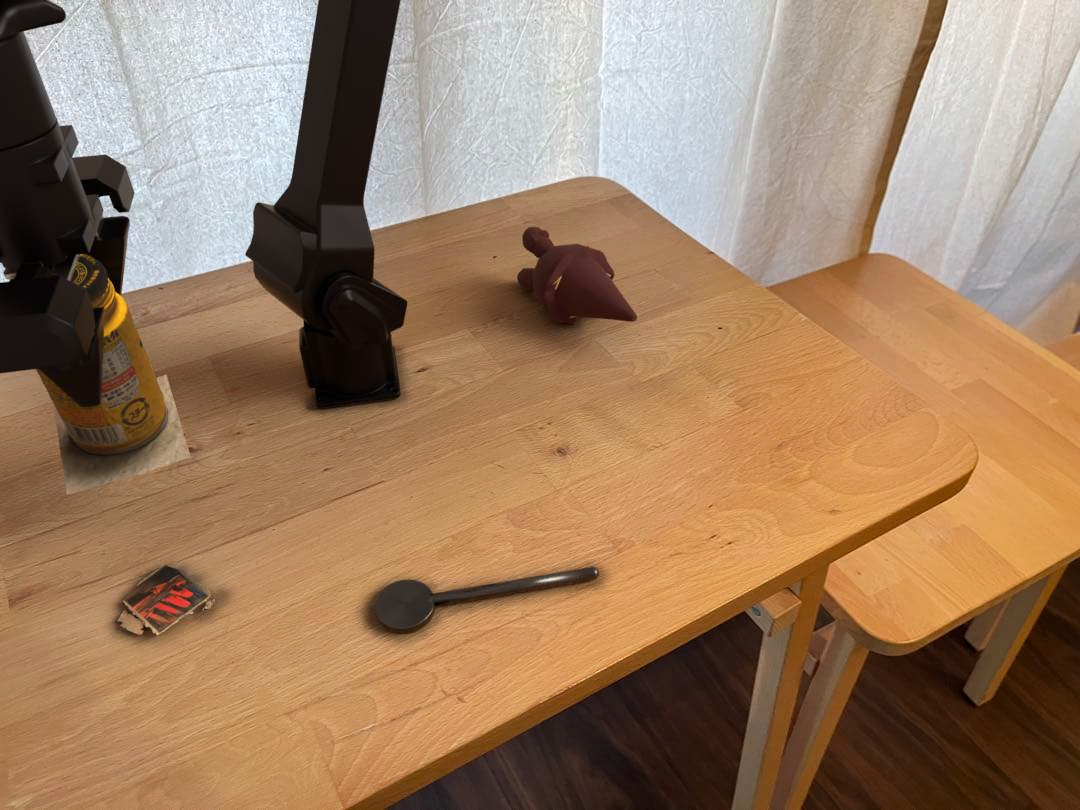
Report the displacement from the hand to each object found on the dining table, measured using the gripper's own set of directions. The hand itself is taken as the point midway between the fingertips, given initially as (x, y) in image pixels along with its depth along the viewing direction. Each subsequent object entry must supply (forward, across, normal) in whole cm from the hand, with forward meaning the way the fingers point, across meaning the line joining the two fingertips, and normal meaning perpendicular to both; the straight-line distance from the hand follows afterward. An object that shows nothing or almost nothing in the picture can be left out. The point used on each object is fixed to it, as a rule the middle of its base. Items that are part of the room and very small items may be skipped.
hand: (100, 371), depth 55 cm
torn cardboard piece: (+10, +11, +2) cm, 15 cm away
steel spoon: (+10, +14, +22) cm, 28 cm away
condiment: (+5, 0, 0) cm, 5 cm away
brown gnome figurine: (+11, -14, +34) cm, 38 cm away
